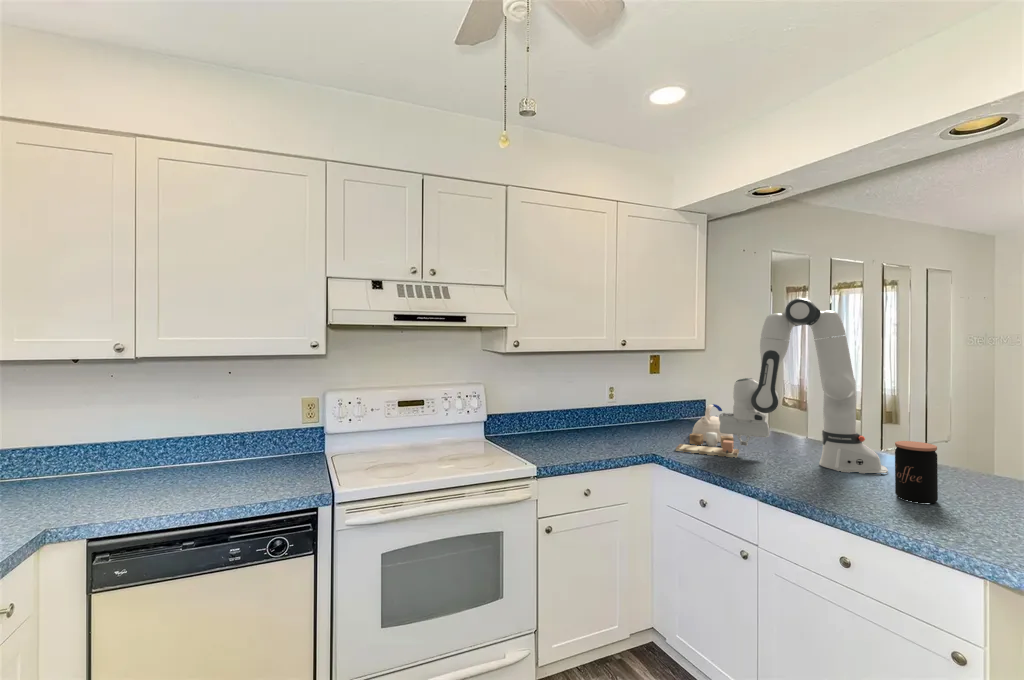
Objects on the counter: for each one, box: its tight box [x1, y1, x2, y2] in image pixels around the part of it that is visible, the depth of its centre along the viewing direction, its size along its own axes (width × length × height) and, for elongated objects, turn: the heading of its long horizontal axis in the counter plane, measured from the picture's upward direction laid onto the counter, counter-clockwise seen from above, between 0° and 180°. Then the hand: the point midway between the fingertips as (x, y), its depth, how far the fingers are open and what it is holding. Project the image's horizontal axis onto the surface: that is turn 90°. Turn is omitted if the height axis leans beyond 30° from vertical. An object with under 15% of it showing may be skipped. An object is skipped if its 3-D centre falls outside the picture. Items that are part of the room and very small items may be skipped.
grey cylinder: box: [705, 432, 718, 447], centre depth 237 cm, size 5×5×6 cm
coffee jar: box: [894, 440, 939, 504], centre depth 157 cm, size 11×11×18 cm
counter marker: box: [723, 440, 733, 452], centre depth 218 cm, size 4×7×4 cm, turn 150°
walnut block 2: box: [720, 436, 735, 449], centre depth 233 cm, size 5×5×5 cm
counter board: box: [675, 443, 740, 459], centre depth 224 cm, size 26×10×2 cm, turn 60°
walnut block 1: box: [689, 432, 704, 446], centre depth 240 cm, size 5×5×5 cm
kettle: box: [691, 403, 734, 443], centre depth 253 cm, size 20×21×18 cm
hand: (743, 445), depth 216 cm, fingers closed
